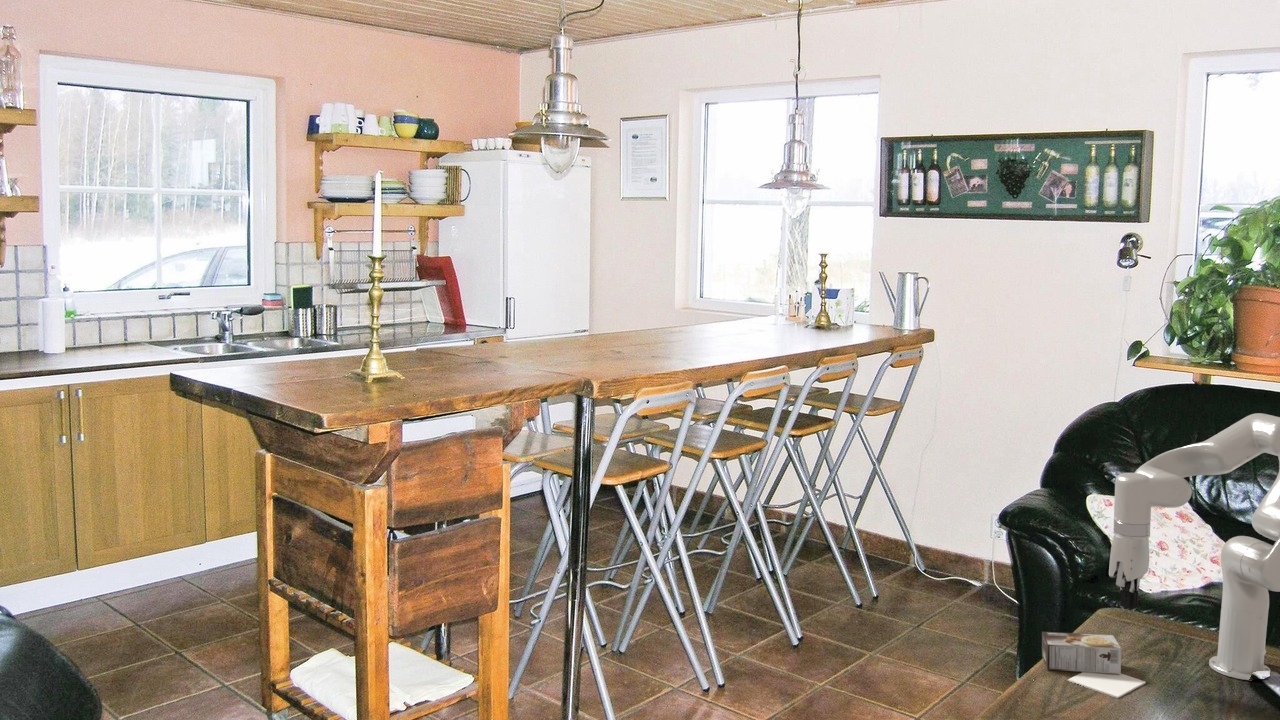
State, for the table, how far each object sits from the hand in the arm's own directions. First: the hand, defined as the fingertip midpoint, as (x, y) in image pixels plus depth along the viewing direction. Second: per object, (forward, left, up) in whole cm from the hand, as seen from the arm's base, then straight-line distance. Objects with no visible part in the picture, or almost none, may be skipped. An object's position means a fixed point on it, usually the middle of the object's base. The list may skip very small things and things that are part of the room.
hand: (1128, 606), depth 248 cm
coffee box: (-3, -3, -13) cm, 13 cm away
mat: (+6, -1, -17) cm, 18 cm away
